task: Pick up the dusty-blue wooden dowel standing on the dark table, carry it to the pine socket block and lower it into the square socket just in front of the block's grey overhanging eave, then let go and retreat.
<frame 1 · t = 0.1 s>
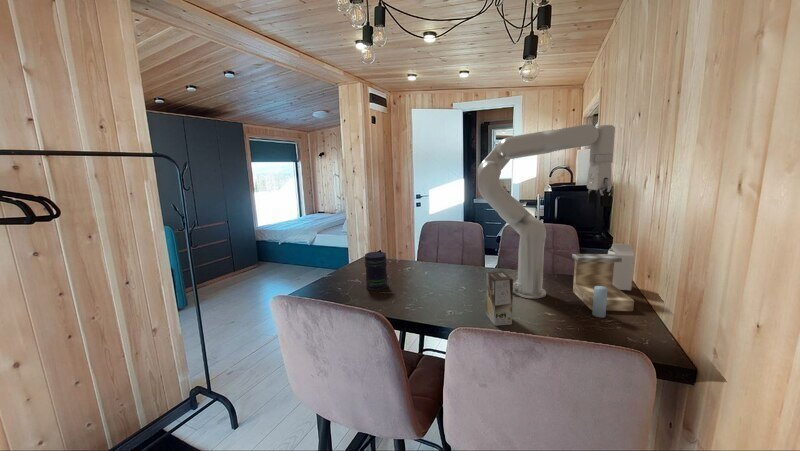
hand: (597, 204, 127), 37 cm above the table, tool pointing down, fingers open, 9 cm apart
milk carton: (617, 287, 141), on the table
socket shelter: (600, 300, 128), on the table
coffee box: (498, 319, 116), on the table
storage jar: (376, 286, 152), on the table
peg: (598, 315, 116), on the table
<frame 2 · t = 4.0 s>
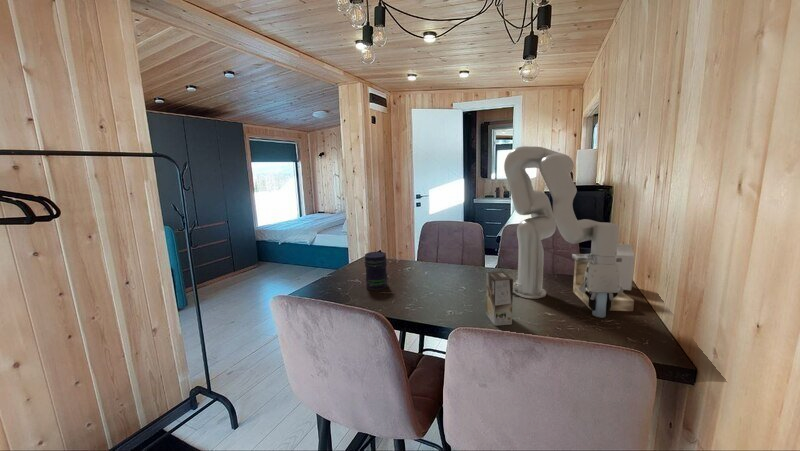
hand: (599, 308, 116), 2 cm above the table, tool pointing down, fingers closed on peg, 4 cm apart
peg: (598, 315, 116), on the table, touching gripper
everything else where it was.
when the fingers open (4 cm above the table, at t = 9.0 s): peg drops 2 cm, resting in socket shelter.
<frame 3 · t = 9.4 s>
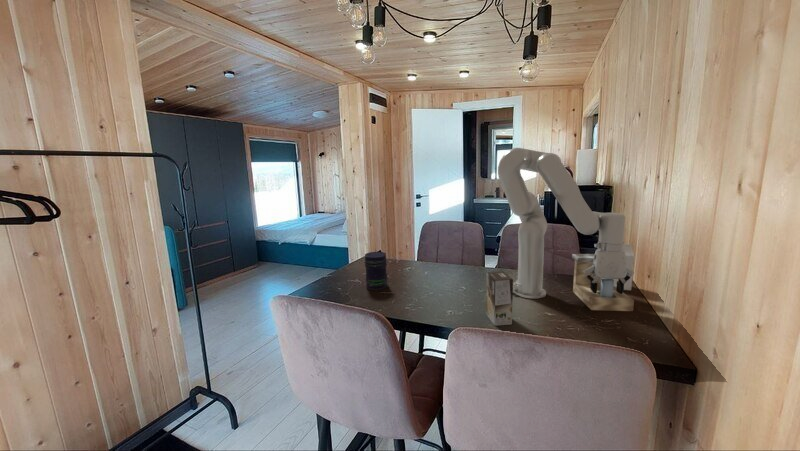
hand: (606, 292, 123), 5 cm above the table, tool pointing down, fingers open, 8 cm apart
peg: (605, 304, 124), resting in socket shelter
everything else where it was.
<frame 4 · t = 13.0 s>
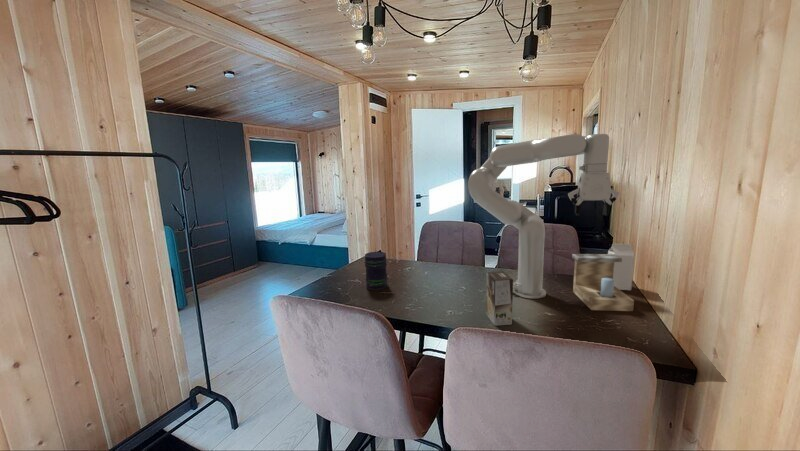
hand: (591, 215, 124), 33 cm above the table, tool pointing down, fingers open, 9 cm apart
nothing on the table moved.
at the end: peg 0.0 cm from the target spot on the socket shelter, point 0.0 cm above the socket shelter's base; peg tilted 0°; the gripper is holding nothing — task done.
